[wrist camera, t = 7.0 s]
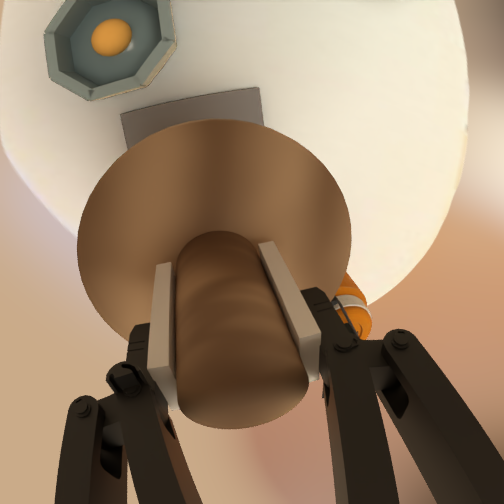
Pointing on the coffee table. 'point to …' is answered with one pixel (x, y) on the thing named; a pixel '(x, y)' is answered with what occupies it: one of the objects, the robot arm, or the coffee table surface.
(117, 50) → the orange ball
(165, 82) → the coffee table surface
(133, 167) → the walnut lid
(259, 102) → the rubber mat
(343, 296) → the canister
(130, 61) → the slate bowl
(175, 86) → the coffee table surface
